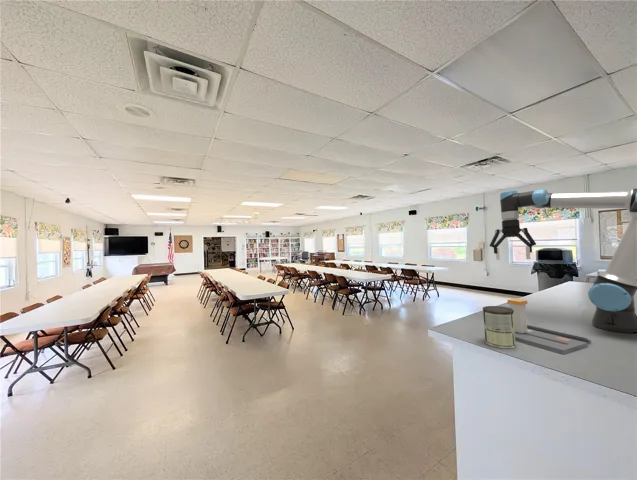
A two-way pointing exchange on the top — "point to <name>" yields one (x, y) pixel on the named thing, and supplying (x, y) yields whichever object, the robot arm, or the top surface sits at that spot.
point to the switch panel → (550, 341)
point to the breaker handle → (519, 314)
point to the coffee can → (499, 326)
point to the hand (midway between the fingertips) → (513, 259)
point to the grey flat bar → (559, 333)
